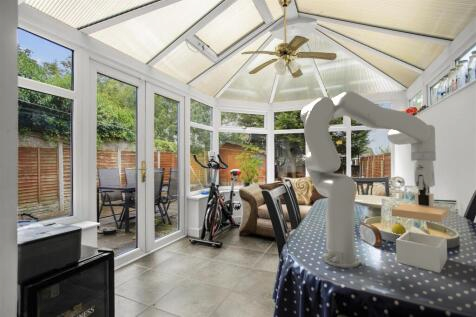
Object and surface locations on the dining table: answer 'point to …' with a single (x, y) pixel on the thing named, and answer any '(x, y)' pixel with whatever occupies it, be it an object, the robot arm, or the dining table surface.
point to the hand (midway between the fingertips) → (424, 204)
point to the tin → (370, 234)
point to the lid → (422, 210)
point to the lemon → (398, 229)
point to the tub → (422, 250)
